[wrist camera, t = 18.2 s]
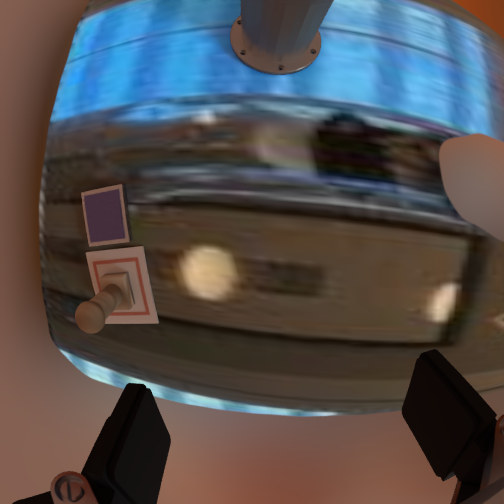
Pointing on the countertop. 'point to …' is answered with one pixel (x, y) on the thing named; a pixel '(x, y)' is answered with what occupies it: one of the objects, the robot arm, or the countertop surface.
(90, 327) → the stamp
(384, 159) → the countertop surface
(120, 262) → the note card
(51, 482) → the robot arm
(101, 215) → the ink pad
